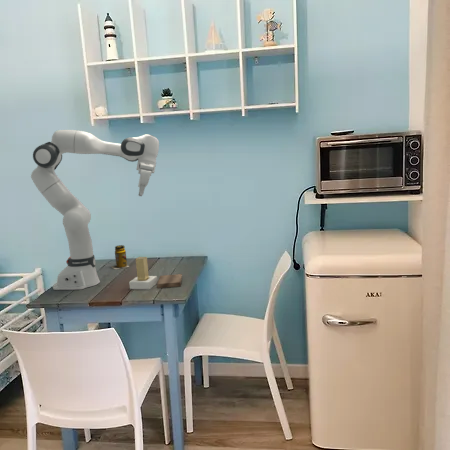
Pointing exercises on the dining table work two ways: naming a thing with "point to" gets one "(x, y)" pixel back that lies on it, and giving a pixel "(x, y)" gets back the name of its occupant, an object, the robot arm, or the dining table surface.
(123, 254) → the condiment
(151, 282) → the socket block
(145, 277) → the peg
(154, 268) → the dining table surface
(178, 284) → the board
